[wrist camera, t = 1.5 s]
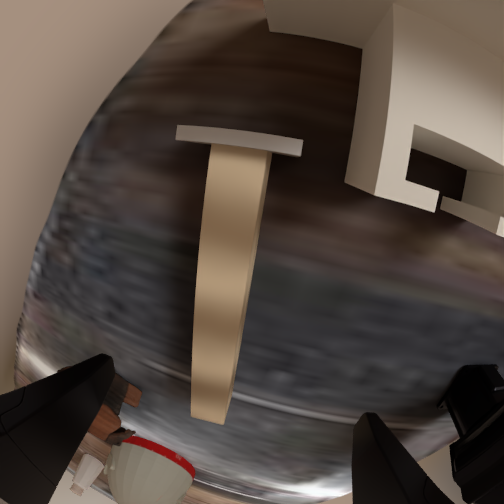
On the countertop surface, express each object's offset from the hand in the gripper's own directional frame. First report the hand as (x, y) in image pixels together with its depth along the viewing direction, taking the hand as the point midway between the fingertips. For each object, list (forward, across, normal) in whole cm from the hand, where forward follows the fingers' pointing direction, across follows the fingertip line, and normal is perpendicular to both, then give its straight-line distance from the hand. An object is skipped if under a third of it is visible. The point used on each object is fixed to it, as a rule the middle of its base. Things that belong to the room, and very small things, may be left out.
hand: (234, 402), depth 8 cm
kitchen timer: (+13, +10, +38) cm, 41 cm away
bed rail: (+13, +2, +3) cm, 13 cm away
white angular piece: (+12, -9, -12) cm, 20 cm away
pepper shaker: (+13, +27, +55) cm, 63 cm away
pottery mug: (+13, +15, +20) cm, 29 cm away
